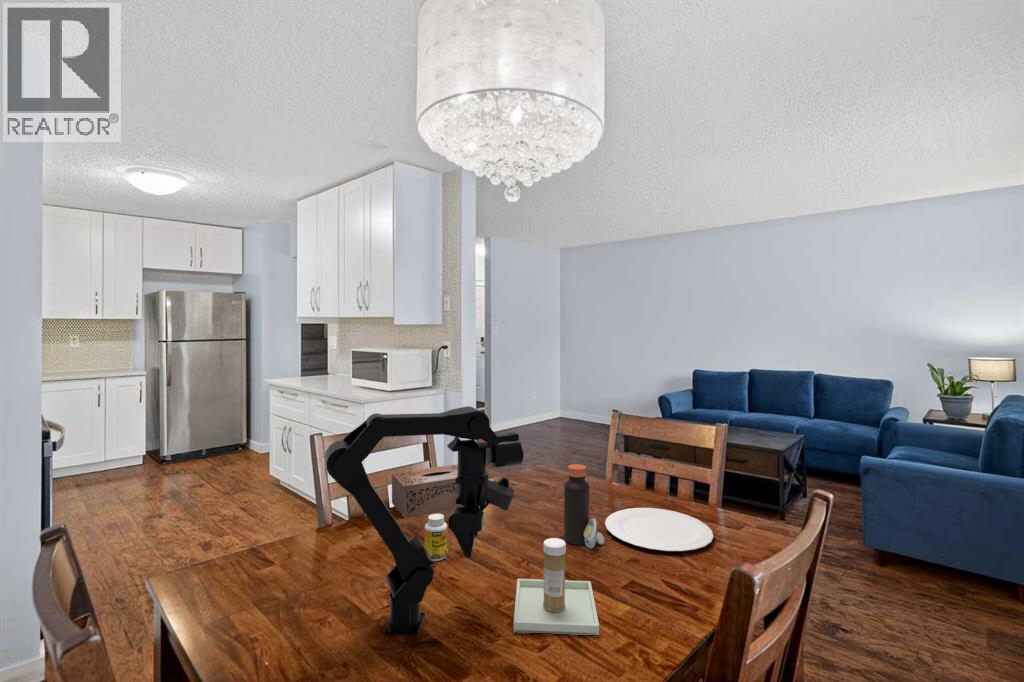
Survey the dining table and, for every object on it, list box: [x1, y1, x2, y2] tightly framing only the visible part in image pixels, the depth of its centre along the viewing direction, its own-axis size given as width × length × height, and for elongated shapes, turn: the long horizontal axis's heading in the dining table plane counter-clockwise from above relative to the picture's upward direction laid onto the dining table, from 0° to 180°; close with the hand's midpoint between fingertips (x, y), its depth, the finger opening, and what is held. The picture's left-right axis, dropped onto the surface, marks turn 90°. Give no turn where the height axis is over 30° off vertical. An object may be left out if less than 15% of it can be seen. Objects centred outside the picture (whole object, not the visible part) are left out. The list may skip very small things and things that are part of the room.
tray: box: [513, 578, 600, 636], centre depth 100 cm, size 16×16×2 cm
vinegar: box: [563, 463, 591, 546], centre depth 132 cm, size 7×7×20 cm
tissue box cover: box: [391, 463, 462, 519], centre depth 159 cm, size 26×14×10 cm, turn 118°
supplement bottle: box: [424, 513, 448, 562], centre depth 122 cm, size 6×6×10 cm
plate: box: [604, 507, 715, 553], centre depth 138 cm, size 29×29×2 cm
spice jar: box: [542, 537, 567, 612], centre depth 100 cm, size 5×5×14 cm
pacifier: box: [584, 517, 605, 549], centre depth 129 cm, size 7×6×6 cm
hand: (471, 546), depth 100 cm, fingers open, 9 cm apart
